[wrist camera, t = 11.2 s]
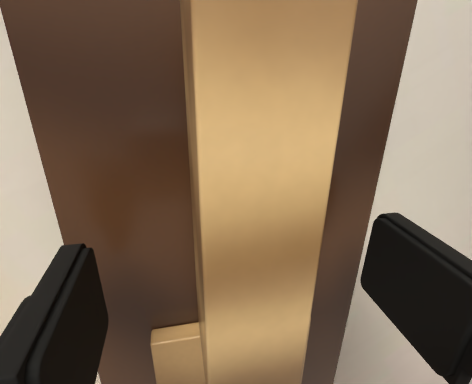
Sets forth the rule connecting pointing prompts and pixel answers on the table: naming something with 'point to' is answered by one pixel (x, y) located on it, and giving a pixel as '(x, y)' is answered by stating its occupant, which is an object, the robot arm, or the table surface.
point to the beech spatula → (256, 182)
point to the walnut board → (179, 161)
